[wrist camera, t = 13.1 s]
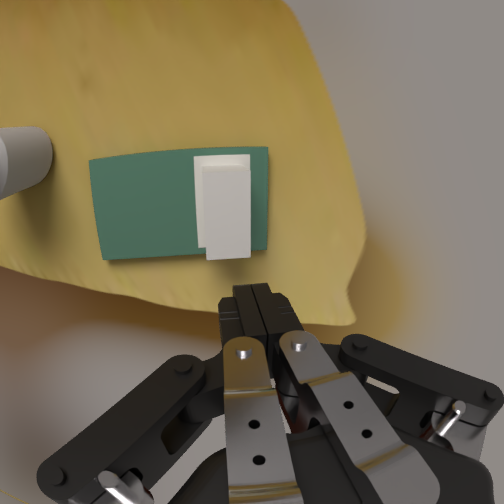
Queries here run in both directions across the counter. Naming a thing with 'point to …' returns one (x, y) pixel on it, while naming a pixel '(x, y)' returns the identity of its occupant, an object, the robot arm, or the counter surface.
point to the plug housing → (227, 211)
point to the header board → (167, 200)
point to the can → (23, 158)
